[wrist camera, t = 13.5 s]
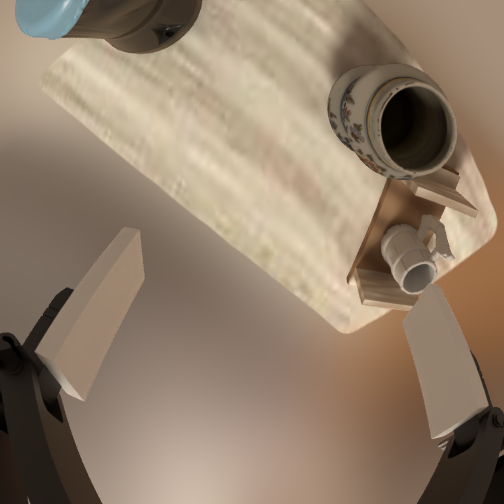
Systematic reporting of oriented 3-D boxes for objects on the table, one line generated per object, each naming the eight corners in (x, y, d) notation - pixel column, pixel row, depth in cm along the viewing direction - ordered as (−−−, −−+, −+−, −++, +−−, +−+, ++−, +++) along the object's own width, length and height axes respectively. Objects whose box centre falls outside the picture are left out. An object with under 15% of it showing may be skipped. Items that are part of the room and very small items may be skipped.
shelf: (398, 146, 35) (425, 166, 27) (454, 170, 35) (485, 194, 27) (346, 278, 50) (355, 316, 42) (398, 287, 50) (411, 322, 43)
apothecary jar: (415, 112, 31) (489, 143, 17) (362, 162, 37) (409, 221, 23) (359, 50, 28) (417, 34, 13) (303, 105, 34) (321, 126, 19)
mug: (370, 248, 44) (389, 298, 34) (411, 194, 37) (446, 234, 28) (399, 265, 45) (421, 313, 36) (439, 216, 39) (473, 258, 29)
